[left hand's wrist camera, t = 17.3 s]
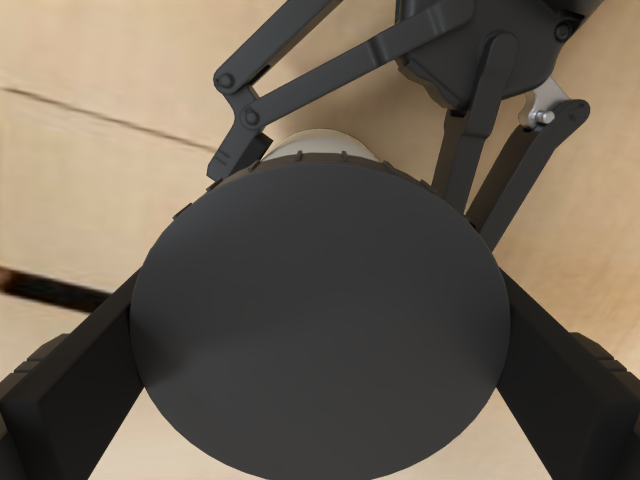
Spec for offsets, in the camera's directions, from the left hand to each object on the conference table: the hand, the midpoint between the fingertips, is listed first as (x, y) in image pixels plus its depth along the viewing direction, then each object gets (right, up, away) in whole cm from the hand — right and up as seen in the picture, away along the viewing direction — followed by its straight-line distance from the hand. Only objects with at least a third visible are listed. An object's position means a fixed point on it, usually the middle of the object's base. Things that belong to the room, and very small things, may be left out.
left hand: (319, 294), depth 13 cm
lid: (0, -1, -3) cm, 3 cm away
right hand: (-3, -1, +9) cm, 9 cm away
